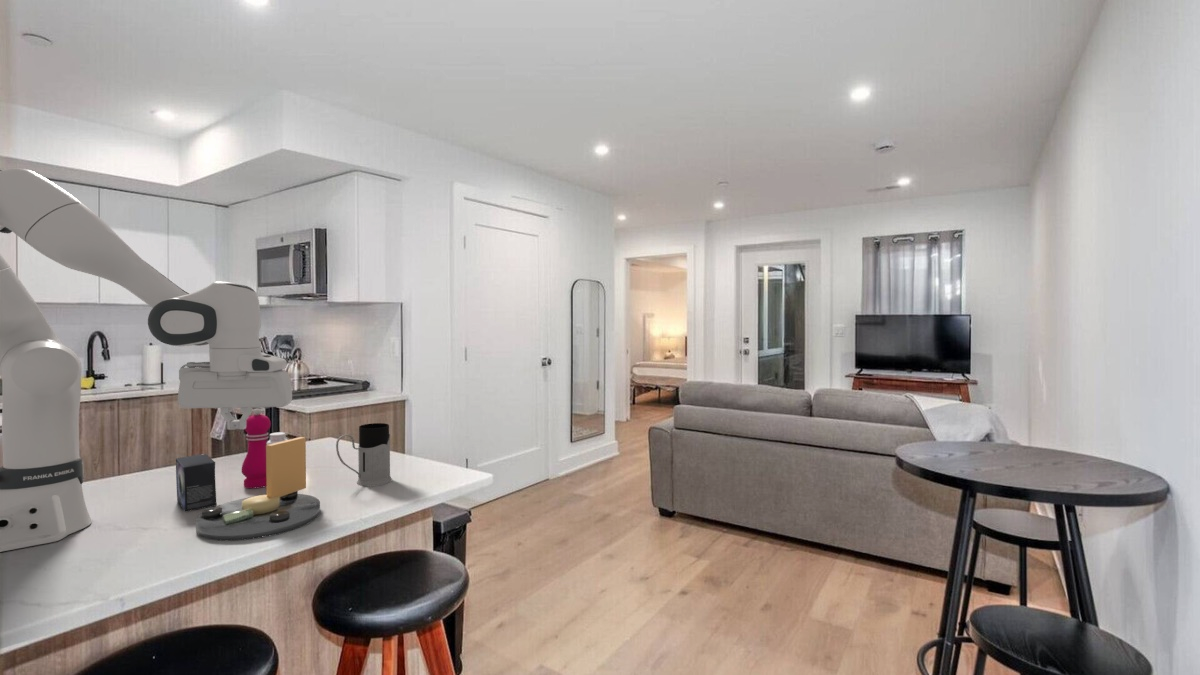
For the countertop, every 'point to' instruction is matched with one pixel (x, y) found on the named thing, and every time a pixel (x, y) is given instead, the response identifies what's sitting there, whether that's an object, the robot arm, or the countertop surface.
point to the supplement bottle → (277, 437)
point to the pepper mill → (256, 450)
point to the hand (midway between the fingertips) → (236, 429)
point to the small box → (195, 482)
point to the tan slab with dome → (281, 474)
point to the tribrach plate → (256, 518)
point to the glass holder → (372, 454)
